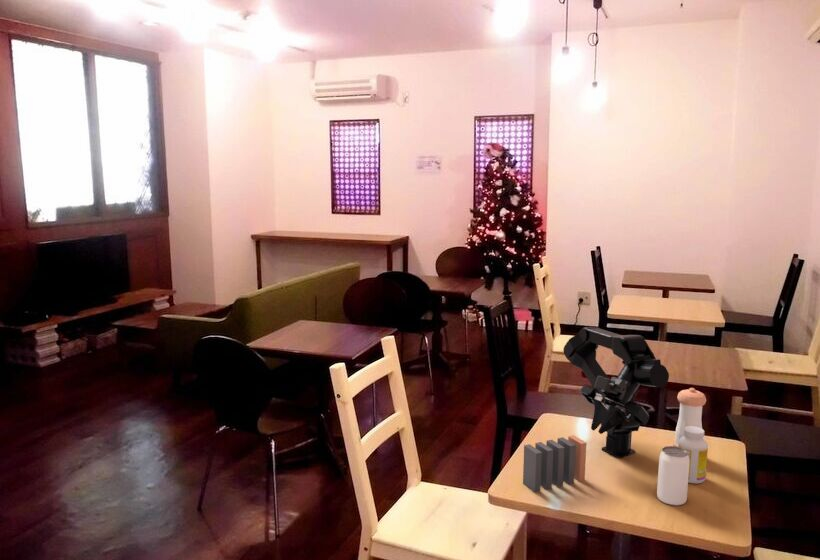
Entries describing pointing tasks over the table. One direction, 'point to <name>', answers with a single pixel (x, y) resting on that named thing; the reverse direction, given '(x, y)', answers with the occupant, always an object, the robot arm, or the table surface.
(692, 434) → the supplement bottle
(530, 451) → the domino
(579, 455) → the domino
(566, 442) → the domino
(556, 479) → the domino
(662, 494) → the can
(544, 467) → the domino
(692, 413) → the salt shaker
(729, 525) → the table surface
